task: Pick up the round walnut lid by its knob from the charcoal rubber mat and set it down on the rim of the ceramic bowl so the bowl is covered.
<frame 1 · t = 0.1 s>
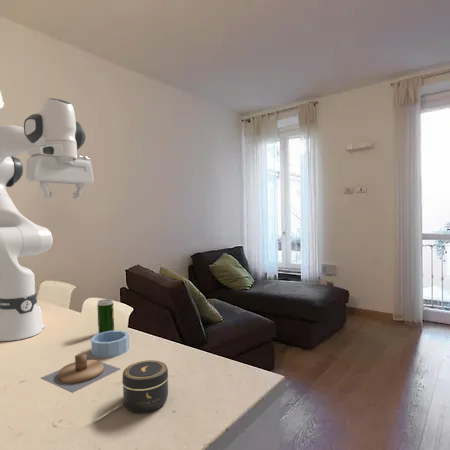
hand: (63, 198, 104), 48 cm above the table, tool pointing down, fingers open, 8 cm apart
beer can: (106, 334, 121), on the table
mat: (81, 376, 89), on the table
bowl: (110, 352, 104), on the table
lid: (81, 373, 89), point 1 cm above the table, touching mat
jar: (146, 403, 76), on the table
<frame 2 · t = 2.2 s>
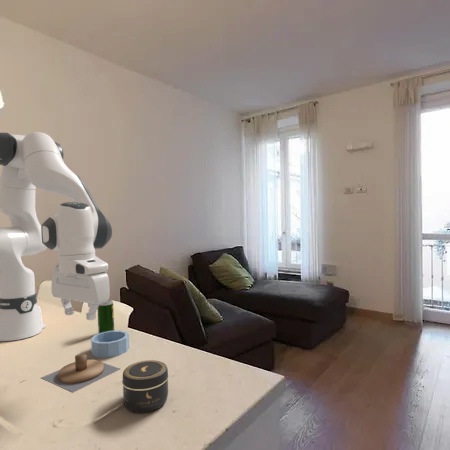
hand: (80, 316, 89), 16 cm above the table, tool pointing down, fingers open, 8 cm apart
nothing on the table moved.
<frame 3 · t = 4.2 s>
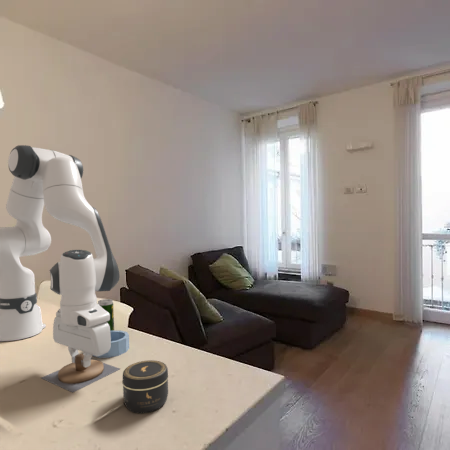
hand: (81, 364, 89), 3 cm above the table, tool pointing down, fingers closed on lid, 3 cm apart
lid: (81, 373, 89), point 1 cm above the table, touching gripper, mat
everything else where it was.
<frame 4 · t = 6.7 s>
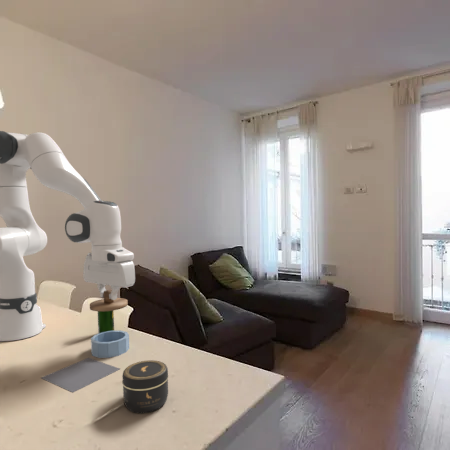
hand: (108, 298, 104), 17 cm above the table, tool pointing down, fingers closed on lid, 3 cm apart
lid: (109, 306, 104), point 14 cm above the table, touching gripper
everything else where it was.
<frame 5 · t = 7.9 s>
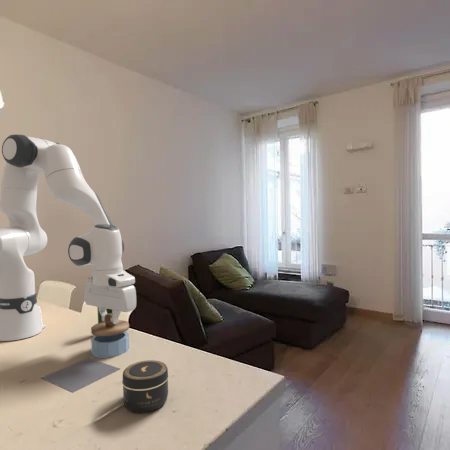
hand: (110, 322, 104), 9 cm above the table, tool pointing down, fingers closed on lid, 3 cm apart
lid: (110, 329, 104), point 7 cm above the table, touching gripper
everything else where it was.
when the fingers open (8 cm above the table, at t = 8.8 s): lid stays where it is, resting on bowl.
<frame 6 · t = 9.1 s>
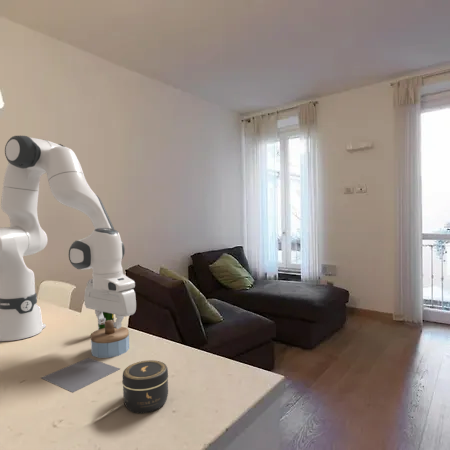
hand: (109, 326, 104), 8 cm above the table, tool pointing down, fingers open, 6 cm apart
lid: (110, 336, 104), point 5 cm above the table, touching bowl
everything else where it was.
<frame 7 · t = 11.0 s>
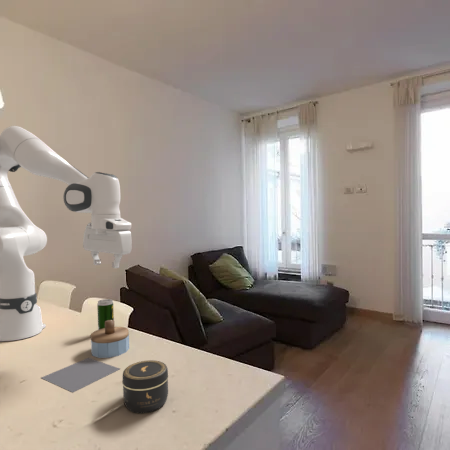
hand: (106, 266, 109), 26 cm above the table, tool pointing down, fingers open, 8 cm apart
nothing on the table moved.
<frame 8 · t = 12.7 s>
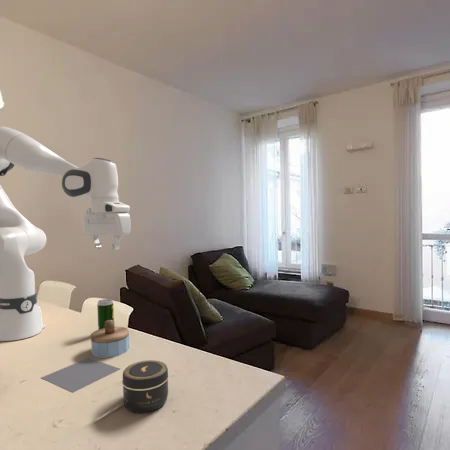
hand: (106, 249, 113), 31 cm above the table, tool pointing down, fingers open, 8 cm apart
nothing on the table moved.
at the end: lid 0.1 cm off-centre on the bowl, point 5.0 cm above the bowl's base; lid tilted 0°; the gripper is holding nothing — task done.
